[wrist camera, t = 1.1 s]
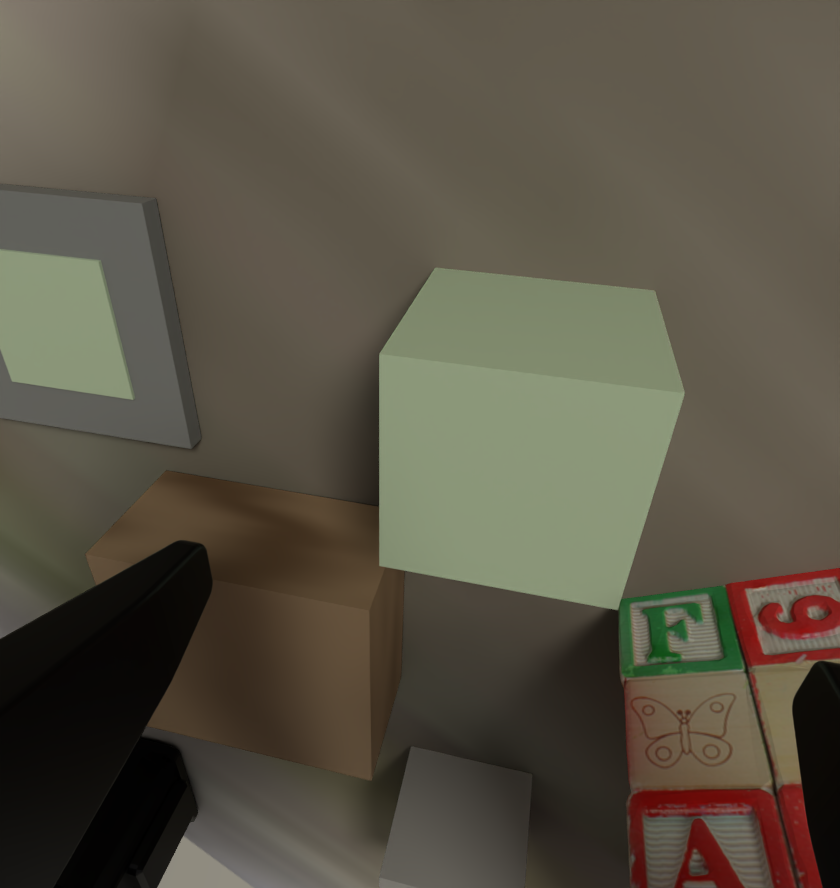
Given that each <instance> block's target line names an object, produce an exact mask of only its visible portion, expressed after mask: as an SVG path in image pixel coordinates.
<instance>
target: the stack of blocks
mask: <svg viewBox="0 0 840 888" xmlns="http://www.w3.org/2000/svg"><path fill="white" fill-rule="evenodd" d="M618 616H619V672H620V680H621V683H622V685H623V688H624V700H625V721H626V752H627V761H628V780H629V785H630V790H631V793H630V795H629V796H628V798H627V801H626V811H627V835H628V851H629V870H630V888H822V884H821V880H820V876H819V872H818V868H817V864H816V859H815V855H814V851H813V847H812V843H811V838H810V834H809V829H808V824H807V818H806V812H805V806H804V798H803V791H802V783H801V776H800V768H799V761H798V753H797V746H796V738H795V731H794V723H793V716H792V703H793V699H794V696H795V694H796V692H797V690H798V689H799V687H800V685H801V684H802V682H803V680H804V679H805V677H806V676H807V674H808V672H809V671H810V669H811V667H812V666H813V665H814V663H816V662H818V661H828V662H834V663H839V664H840V568H837V569H830V570H823V571H816V572H808V573H801V574H794V575H786V576H779V577H772V578H765V579H758V580H751V581H745V582H737V583H730V584H727V585H724V586H717V587H710V588H702V589H695V590H687V591H680V592H672V593H665V594H657V595H650V596H643V597H635V598H626V599H621V601H620V604H619V608H618Z"/></svg>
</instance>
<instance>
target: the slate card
mask: <svg viewBox="0 0 840 888" xmlns="http://www.w3.org/2000/svg"><path fill="white" fill-rule="evenodd" d="M0 418H4V419H10V420H16V421H23V422H29V423H35V424H41V425H47V426H53V427H59V428H66V429H72V430H78V431H84V432H90V433H96V434H102V435H109V436H115V437H121V438H127V439H133V440H139V441H145V442H152V443H158V444H164V445H170V446H176V447H182V448H188V449H192V448H193V447H194V446H195V445H196V444H197V443H198V442H199V441H200V439H201V433H200V428H199V423H198V417H197V412H196V407H195V401H194V396H193V391H192V386H191V380H190V375H189V370H188V364H187V359H186V354H185V349H184V343H183V338H182V333H181V327H180V322H179V317H178V311H177V306H176V301H175V296H174V290H173V285H172V280H171V274H170V269H169V264H168V259H167V253H166V248H165V243H164V237H163V232H162V227H161V221H160V216H159V211H158V206H157V200H156V198H148V197H137V196H126V195H115V194H105V193H94V192H83V191H73V190H62V189H51V188H40V187H30V186H19V185H8V184H0Z"/></svg>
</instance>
